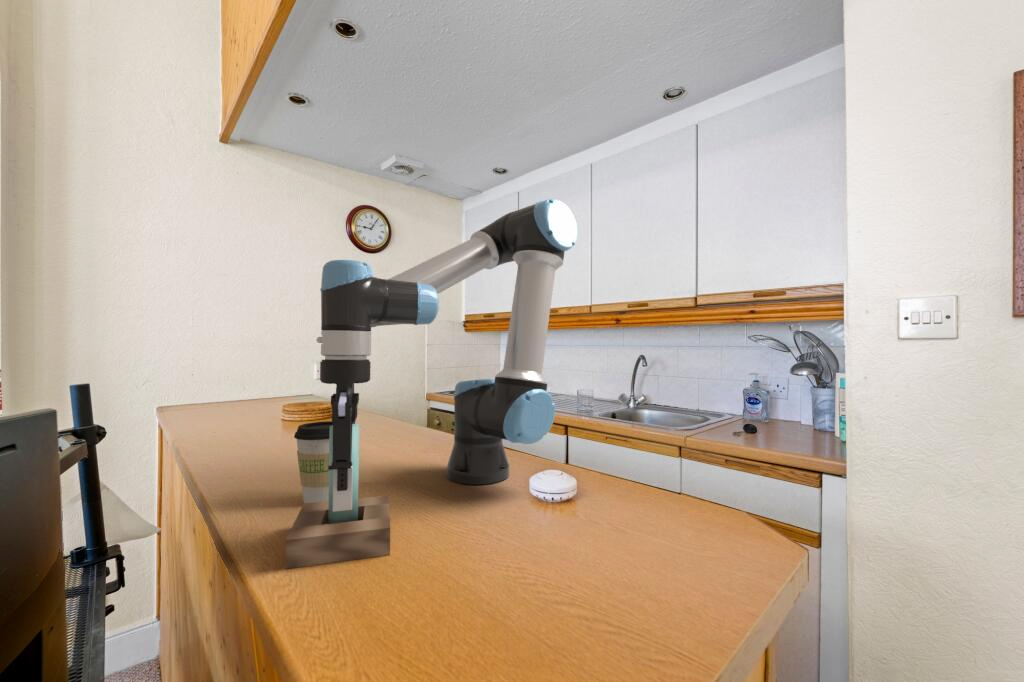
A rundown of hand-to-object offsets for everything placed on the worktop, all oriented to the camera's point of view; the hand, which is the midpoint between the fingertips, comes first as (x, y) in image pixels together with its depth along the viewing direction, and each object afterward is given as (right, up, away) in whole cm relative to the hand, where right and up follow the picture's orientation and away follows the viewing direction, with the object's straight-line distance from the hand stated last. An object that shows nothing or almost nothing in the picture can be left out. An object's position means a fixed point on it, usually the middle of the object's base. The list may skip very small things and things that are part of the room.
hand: (343, 503), depth 67 cm
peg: (0, -4, 0) cm, 4 cm away
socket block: (0, -6, 0) cm, 6 cm away
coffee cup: (-12, -6, +17) cm, 22 cm away
